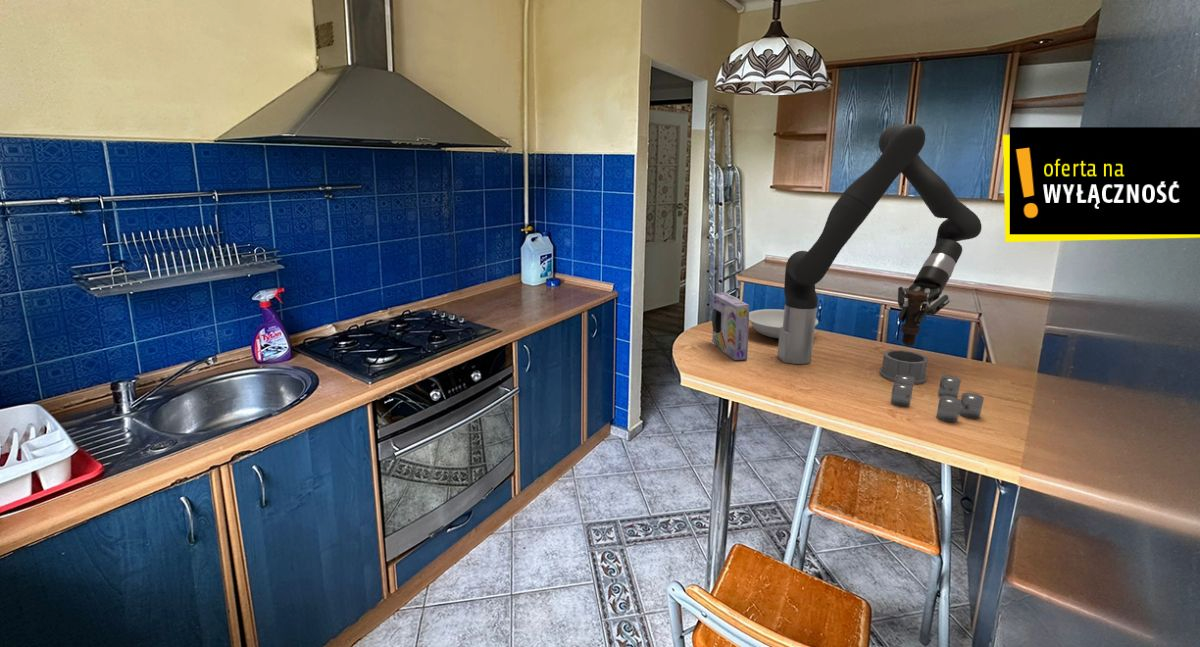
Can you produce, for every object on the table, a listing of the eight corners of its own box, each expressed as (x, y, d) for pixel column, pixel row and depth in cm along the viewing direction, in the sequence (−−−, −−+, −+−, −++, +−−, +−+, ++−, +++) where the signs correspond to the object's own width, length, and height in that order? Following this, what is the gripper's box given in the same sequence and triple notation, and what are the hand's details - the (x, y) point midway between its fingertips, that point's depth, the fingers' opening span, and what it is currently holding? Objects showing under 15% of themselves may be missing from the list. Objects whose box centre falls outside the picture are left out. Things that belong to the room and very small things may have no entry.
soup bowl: (738, 325, 210) (739, 308, 209) (803, 326, 210) (805, 309, 208) (752, 346, 187) (754, 327, 186) (826, 347, 187) (828, 328, 185)
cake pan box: (709, 342, 191) (712, 291, 186) (723, 341, 192) (726, 290, 187) (732, 362, 173) (736, 305, 168) (748, 361, 174) (752, 305, 169)
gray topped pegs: (915, 422, 134) (918, 403, 133) (876, 390, 152) (878, 373, 151) (995, 422, 134) (1000, 403, 133) (947, 390, 153) (950, 373, 151)
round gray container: (892, 384, 157) (895, 363, 155) (871, 368, 168) (874, 349, 167) (935, 384, 157) (939, 363, 155) (911, 368, 168) (914, 349, 167)
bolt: (914, 341, 162) (923, 290, 158) (922, 347, 157) (931, 294, 153) (893, 341, 163) (901, 290, 158) (900, 346, 158) (909, 294, 154)
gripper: (906, 261, 163) (879, 309, 160) (960, 268, 153) (932, 320, 149) (912, 277, 168) (886, 323, 164) (964, 285, 158) (938, 335, 154)
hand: (908, 321), depth 157 cm, fingers closed on bolt, 3 cm apart
